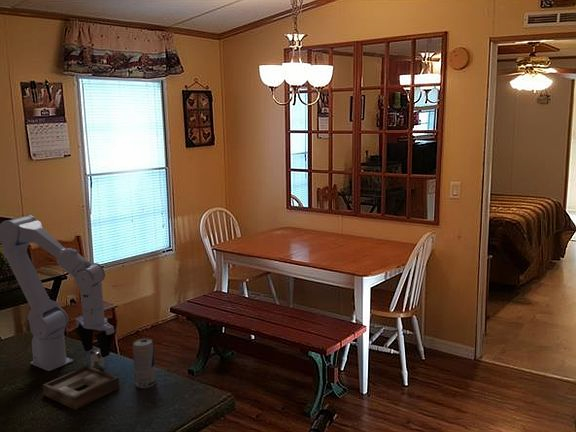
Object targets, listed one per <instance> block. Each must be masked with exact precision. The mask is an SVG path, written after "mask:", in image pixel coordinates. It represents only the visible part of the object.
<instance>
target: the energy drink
mask: <svg viewBox="0 0 576 432" xmlns="http://www.w3.org/2000/svg"><path fill="white" fill-rule="evenodd" d="M132 355H133V366H134V368H133V369H134V370H133V371H134V383H135V384H134V385H135V386H136V387H137V388H139V389H148V388H152V387H154V386H155V385H156V382H157V381H156V379H157V375H156V362H155V361H156V360H155V347H154V342H153V339H151V338H148V337H147V338H146V337H145V338H139V339H137V340H133V344H132Z"/></svg>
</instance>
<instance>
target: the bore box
mask: <svg viewBox="0 0 576 432" xmlns="http://www.w3.org/2000/svg"><path fill="white" fill-rule="evenodd" d="M82 386H87V387H86V388H84V389H82V390H79V391H78V390H76V389H78V388H80V387H82ZM119 389H120V379H119V376H116V375H114V374H111V373H108V372H106V371H103V370H101V371H100V370H98V369H95V368H93V367H91V365H90V366H89V365H85V366H83V367H81V368H78V369H76V370H74V371H71V372H69V373H67V374H64V375H62V376H60V377H57V378H55V379H52V380H49V381H48V382H46V383H43V384H42V390H43V391H42V392H43V396H45V397H47V398H49V399H51V400H53V401H55V402H58V403H60V404H61V405H64V406H65V407H69V408H70V409H73V410H75V411H76V410H78V409H80V408H82V407H84V406H86V405H88V404H90V403H92V402H94V401H96V400H98V399H100V398H102V397H104V396H107V395H108V394H110V393H112V392H114V391H116V390H119Z"/></svg>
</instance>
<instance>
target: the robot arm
mask: <svg viewBox="0 0 576 432" xmlns="http://www.w3.org/2000/svg"><path fill="white" fill-rule="evenodd" d="M42 224H43V223H42V222H41V221H40V220H38V219H37V218H36V217H35V216H33V215H31V214H26V215H24V216H21V217H20V216H19V217H17V218H13V219H8V220H7V219H6V220H3V221H2V222H0V244H1V245H2V252H3V255H4V256H5V259H6V261H7V263H8V265H9V267H10V269H11V271H12V273H13V275H14V277H15V279H16V280H17V283H18V285H19V287H20V288H21V291H22V293H23V295H24V297H25V300H26V301H27V303H28V305H29V307H30V310H29V313H28V315H27V320H28V324H29V330H30V332H31V334H32V335H33V337H32V339H31V349H32V359H33V360H32V361H30V365H32V366H35V367H38V368H40V369H42V370H45V371H46V372H47V371H48V372H50V371H53V370H56V369H58V368H60V367H64V366H65V365H68V364H70V363H72V362H73V360H74V359H72V358H70V357H68V356H67V353H66V341H65V340H66V339H65V331H66V326H67V325H68V323H69V316H68V314H67V312H66V311H65V310H64V309H63V308H62V307H61V305H60V303H59V302H58V301H56V300H52V299H50V296H49V294H48V292H47V291H46V288H45V286H44V284H43V282H42V281H41V278H40V276H39V275H38V272H37V270H36V269H35V266H34V264H33V262H32V260H31V258H30V257H29V254H28V252H27V250H28V248H29V245H30V243H35V244H36V245H37V246H39V247H40V248H42V249H43V250H45V251H46V252H48V253H50V254H51V255H52V256H53V257H55V258H56V264H57V265H58V266H59V267H60V268H62V269H63V270H64V271H65V272H67V273H68V274H69V275H70V276H72V277H73V279H74V283H75V285H76V286H77V287H78V291H79V294H80V301H81V312H82V316H80V317H77V318H75V325H76V326H77V327H75V328H74V332H75V334H76V335H77V336H78V338H79V339H80V342H81V345H82V347H83V349H84V352H89V351H91V350H92V351H93V347H94V346H93V345H94V343H93V341H94V340H93V337H94V338H95V339H96V341H97V344H98V346H99V350H100V353H101V356H102V357H104V358H105V357H108V356H110V351H111V347H112V343H113V340H114V338H115V335H116V330H115V326H113V325H112V324H110V323H109V322H108V321H109V319H108V318H106V317H105V309H104V308H105V307H104V297H103V295H104V294H103V286H102V285H103V283H102V282H103V281H104V279H105V277H106V273H105V270H104V268H103V266H102V265H101V264H100V263H97V262H91V261H90V260H88V259H86V258H85V257H83V256H82V255H81V254H80V253H79V251H78V249H76V248H72V247H68V248H66V247H64V246H63V245H62V244H61V243H60V242H59V241H58V240H57V239H56V238H55V237H53V236H52V235H51V234H50V233H49V232H48V231H47V230H46V229H45V228H44V227H43V225H42ZM50 254H49V255H50ZM94 331H98V332H100V333H97V334H95V335H94Z"/></svg>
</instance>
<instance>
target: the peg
mask: <svg viewBox="0 0 576 432" xmlns="http://www.w3.org/2000/svg"><path fill="white" fill-rule="evenodd" d="M89 359H90V367H93V368H95V369H98V370H100V371H103V370H105V357H102V356H101V353H100V349H95V350H92V351H90V352H89Z"/></svg>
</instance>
